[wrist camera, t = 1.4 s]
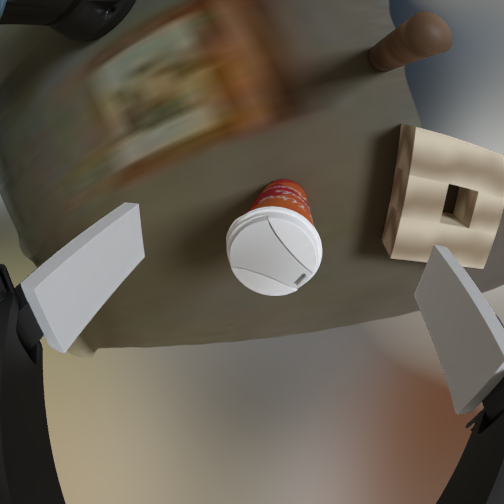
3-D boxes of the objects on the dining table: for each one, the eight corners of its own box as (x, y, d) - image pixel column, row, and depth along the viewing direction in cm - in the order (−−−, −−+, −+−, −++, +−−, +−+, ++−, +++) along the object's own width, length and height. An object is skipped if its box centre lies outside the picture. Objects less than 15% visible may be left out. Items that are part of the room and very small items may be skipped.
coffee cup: (328, 196, 34) (344, 253, 21) (290, 241, 38) (282, 315, 25) (275, 156, 33) (256, 190, 20) (239, 206, 37) (203, 265, 24)
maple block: (401, 123, 28) (415, 126, 24) (493, 152, 26) (513, 160, 22) (381, 240, 36) (390, 258, 32) (468, 251, 34) (483, 268, 29)
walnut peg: (367, 43, 24) (410, 5, 11) (394, 49, 23) (450, 20, 11) (367, 68, 26) (412, 44, 13) (394, 74, 25) (453, 58, 12)
